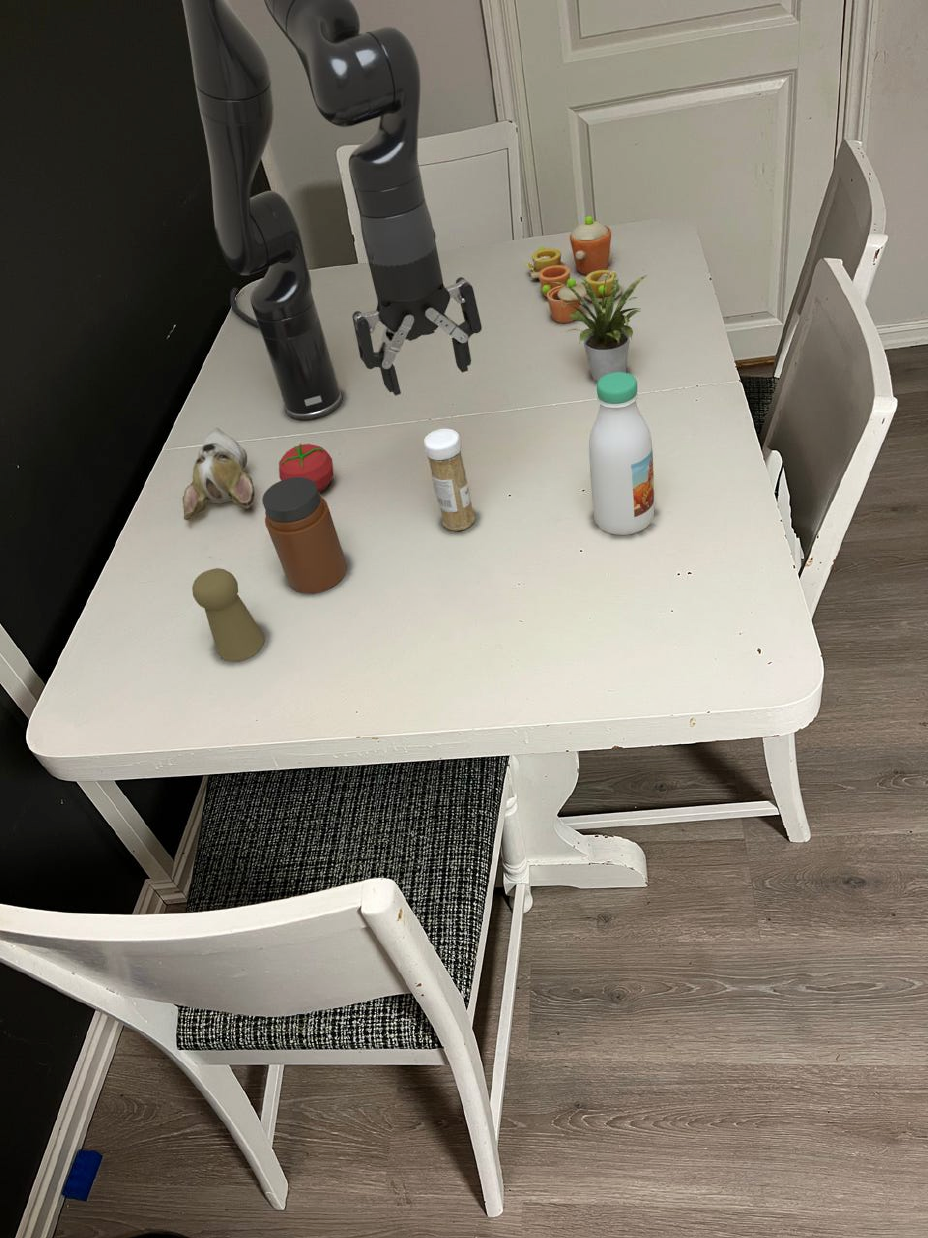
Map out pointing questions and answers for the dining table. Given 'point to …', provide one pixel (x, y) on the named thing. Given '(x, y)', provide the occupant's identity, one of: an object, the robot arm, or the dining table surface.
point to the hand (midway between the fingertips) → (429, 380)
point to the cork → (227, 616)
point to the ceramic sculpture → (218, 475)
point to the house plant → (605, 330)
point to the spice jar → (449, 478)
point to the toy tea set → (590, 260)
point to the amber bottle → (304, 535)
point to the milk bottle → (621, 459)
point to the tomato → (307, 465)
